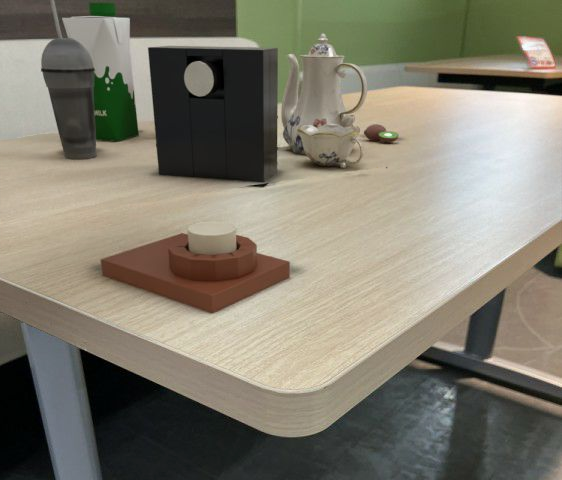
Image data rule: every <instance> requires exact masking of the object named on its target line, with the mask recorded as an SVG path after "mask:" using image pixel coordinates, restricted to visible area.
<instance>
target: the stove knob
mask: <svg viewBox="0 0 562 480" xmlns="http://www.w3.org/2000/svg"><path fill="white" fill-rule="evenodd" d="M184 81H185V85H186V87H187V89H188V90H189V91H190V92H191V93H192V94H193V95H195V96H206V95H209V94H213V93H214V92H216V91H217V90H218V88H219V87H220V84H221V73H220V70H219V68H218V67H217V66H216V65H215V64H214V63H213V62H211V61H208V60H203V61H196V62H192V63H191V64H189V65H188V67H187V68H186V70H185V74H184Z"/></svg>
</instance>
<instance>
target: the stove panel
mask: <svg viewBox="0 0 562 480" xmlns="http://www.w3.org/2000/svg"><path fill="white" fill-rule="evenodd" d="M147 52H148V53H147V54H148V64H149V76H150V77H149V78H150V87H151V88H150V89H151V99H152V109H153V110H152V111H153V112H152V113H153V122H154V133H155V145H156V158H157V170H158V175H159V176H168V177H181V178H183V177H184V178H194V179H195V178H196V179H197V178H198V179H199V178H200V179H208V180H209V179H210V180H211V179H212V180H225V181H237V182H252V183H258V184H251V185H248V187H254V188H265V187H266V186H268V185H269V184H270V182H267V181H268V180H269V179H270V178H272V177H273V176H275V175H277V173H278V119H277V115H278V101H279V99H278V95H279V93H278V91H279V90H278V89H279V88H278V85H279V84H278V83H279V80H278V78H279V76H278V75H279V63H278V62H279V48H278V47H258V46H257V47H255V46H254V47H253V46H252V47H251V46H211V45H210V46H209V45H207V46H202V45H161V46H148V47H147ZM203 60H208V61H211V62H213V63H214V64H215V65H216V66H217V67H218V68H219V70H220V73H221V84H220V87H219V88H218V90H217V91H216V92H214V93H213V94H209V95H206V96H195V95H193V94H192V93H191V92H190V91H189V90H188V89H187V87H186V85H185V81H184V74H185V70H186V68H187V67H188V65H189V64H191V63H192V62H196V61H203Z"/></svg>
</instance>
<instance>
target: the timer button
mask: <svg viewBox="0 0 562 480" xmlns="http://www.w3.org/2000/svg"><path fill="white" fill-rule="evenodd" d="M187 235H188V243H189V252H193V253H196V254H205V255H218V254H226V253H231V252H233V251H236V235H237V227H236V225H234V224H233V223H230V222H226V221H218V220H215V221H214V220H213V221H212V220H208V221H201V222H196V223H193V224H191V225H189V226H188V227H187Z"/></svg>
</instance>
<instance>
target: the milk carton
mask: <svg viewBox="0 0 562 480" xmlns="http://www.w3.org/2000/svg"><path fill="white" fill-rule="evenodd" d="M88 8H89V15H86V16H85V15H83V16H81V15H80V16H70V17H61V19H62V23H63V26H64V29H65V32H66V36H67V38H72V39H74V40H76V41H78V42H79V43H81V44H82V45H83V46H84V47H85V49H86V50H87V51H88V53H89V55H90V57H91V59H92V62H93V67H94V69H95V71H94V86H93V91H94V111H95V130H96V141H106V142H107V141H108V142H120V141H123V140H126V139H130V138H133V137H136V136H137V137H138V136H139V132H140V131H139V125H138V115H137V107H136V97H135V96H136V95H135V87H134V86H135V85H134V75H133V66H132V57H131V56H132V55H131V45H130V44H131V43H130V42H131V41H130V40H131V37H130V36H131V31H130V30H131V22H130V21H131V19H130V17H123V16H117V12H116V4H115V2H88Z"/></svg>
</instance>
